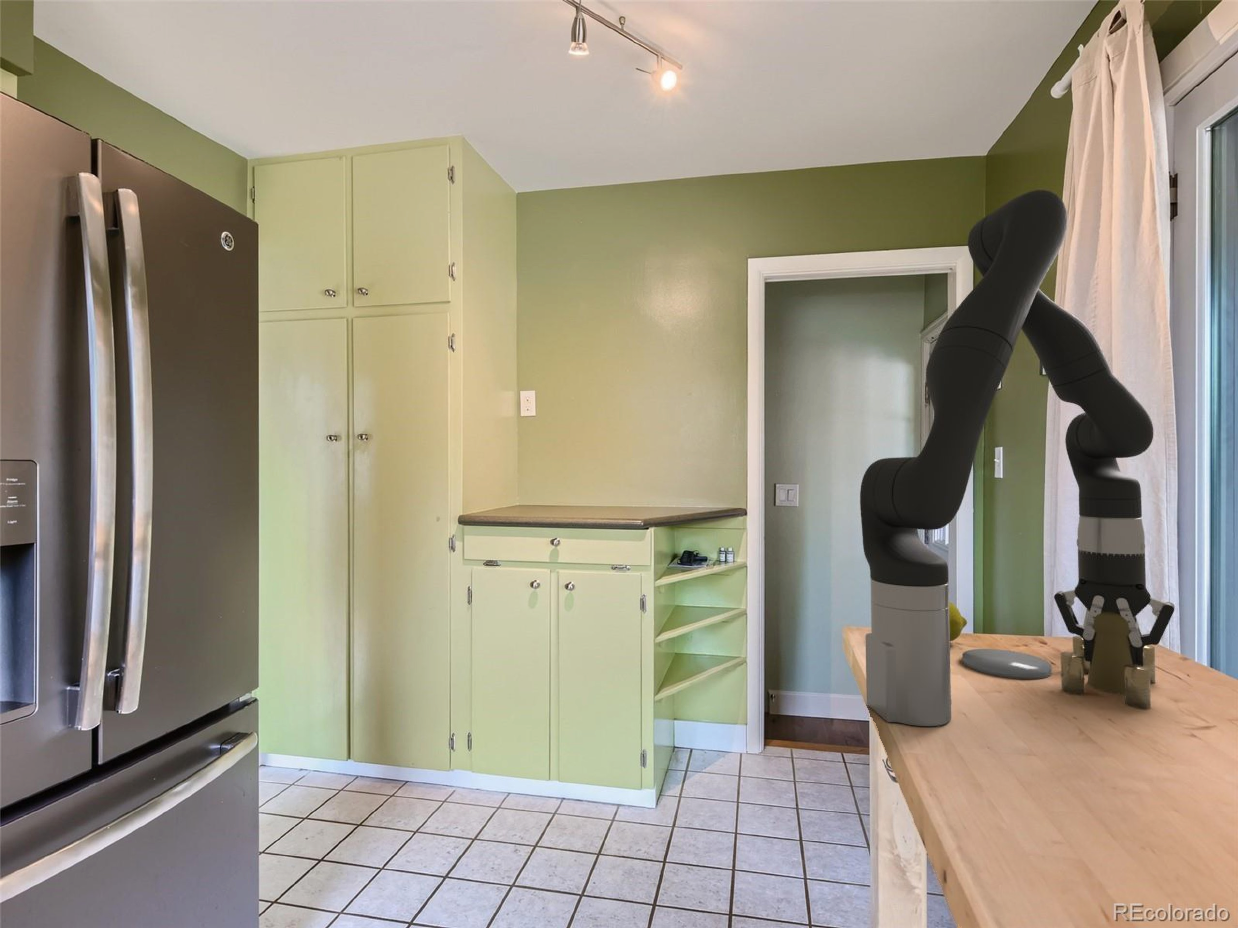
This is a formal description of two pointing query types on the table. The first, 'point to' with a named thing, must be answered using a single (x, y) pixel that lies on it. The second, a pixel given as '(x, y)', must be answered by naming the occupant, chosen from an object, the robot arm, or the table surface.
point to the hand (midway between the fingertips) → (1113, 667)
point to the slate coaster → (1007, 663)
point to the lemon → (955, 622)
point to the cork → (1110, 653)
